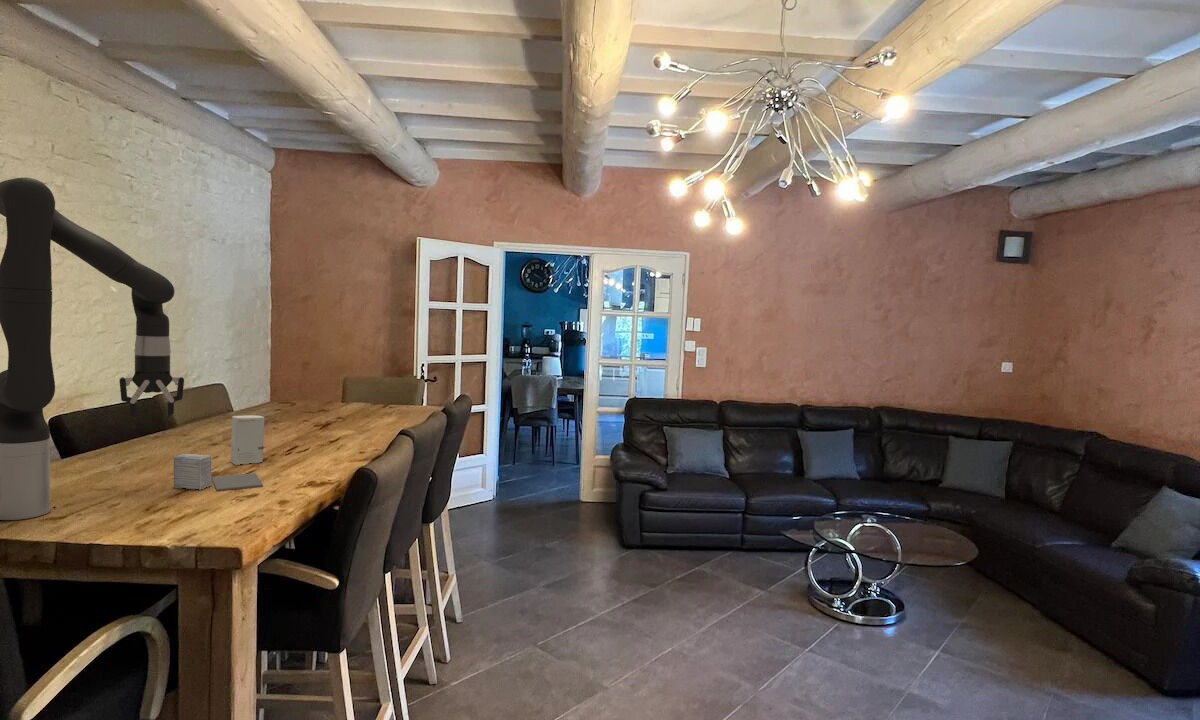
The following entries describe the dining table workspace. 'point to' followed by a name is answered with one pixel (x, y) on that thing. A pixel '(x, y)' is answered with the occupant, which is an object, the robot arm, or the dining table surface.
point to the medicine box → (192, 471)
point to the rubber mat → (236, 482)
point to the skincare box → (247, 439)
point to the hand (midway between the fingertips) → (152, 416)
